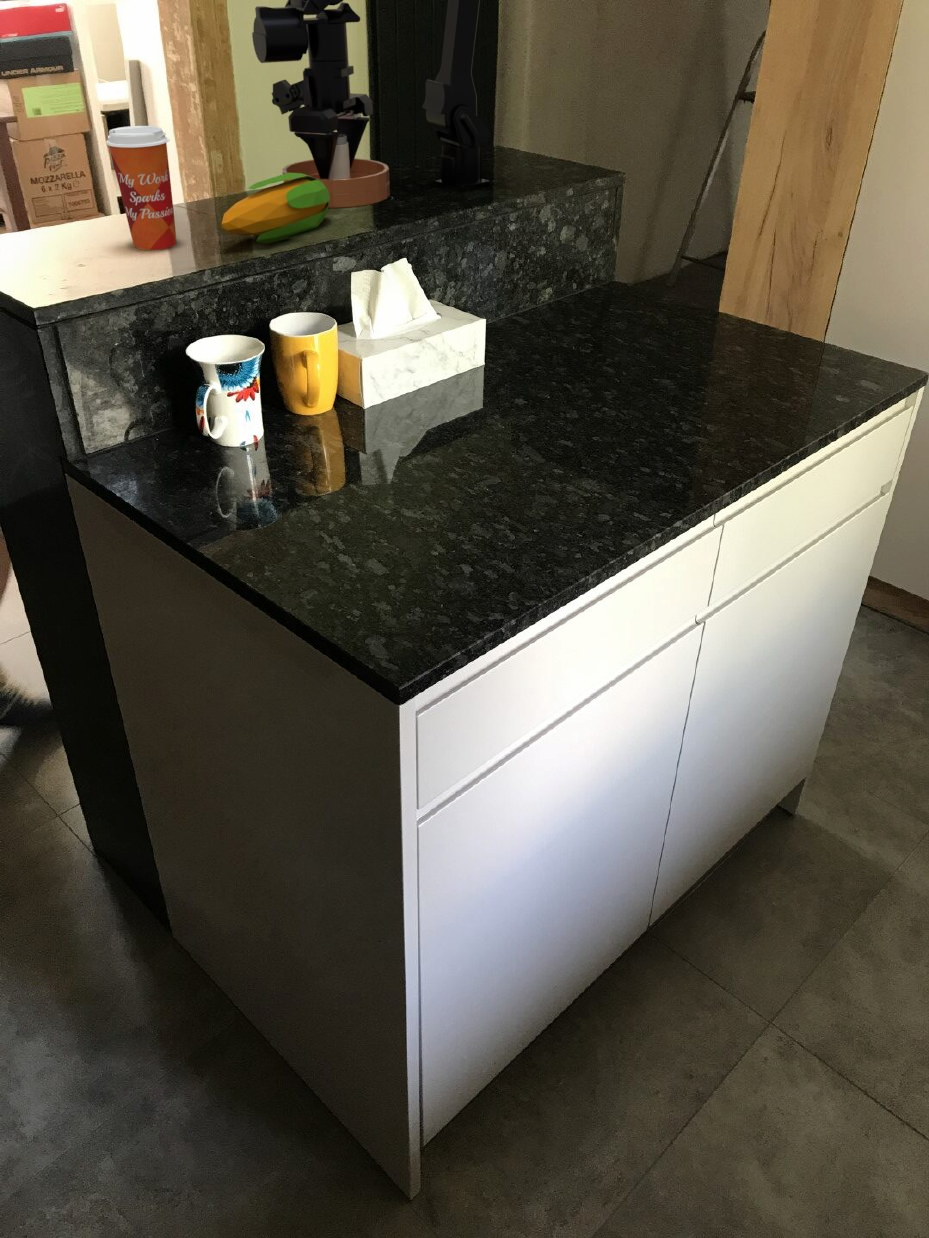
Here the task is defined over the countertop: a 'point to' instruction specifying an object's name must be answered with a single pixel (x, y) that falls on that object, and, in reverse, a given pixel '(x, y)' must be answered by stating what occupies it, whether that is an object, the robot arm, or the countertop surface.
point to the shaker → (341, 159)
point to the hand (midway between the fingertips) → (336, 174)
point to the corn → (279, 208)
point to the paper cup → (144, 184)
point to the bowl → (350, 182)
